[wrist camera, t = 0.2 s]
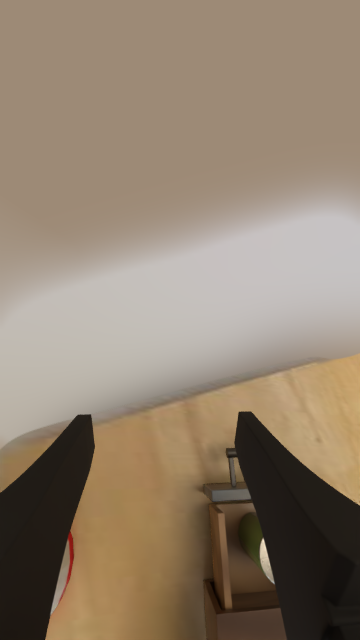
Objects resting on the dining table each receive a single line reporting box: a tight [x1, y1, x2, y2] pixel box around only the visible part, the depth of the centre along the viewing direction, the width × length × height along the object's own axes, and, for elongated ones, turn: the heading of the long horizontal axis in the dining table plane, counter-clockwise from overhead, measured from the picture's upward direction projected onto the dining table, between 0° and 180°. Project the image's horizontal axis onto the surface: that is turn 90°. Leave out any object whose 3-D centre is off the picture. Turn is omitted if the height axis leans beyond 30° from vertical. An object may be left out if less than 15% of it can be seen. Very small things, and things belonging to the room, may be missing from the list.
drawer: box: [203, 448, 279, 610], centre depth 34 cm, size 17×13×6 cm
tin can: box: [238, 512, 275, 584], centre depth 31 cm, size 5×5×8 cm
